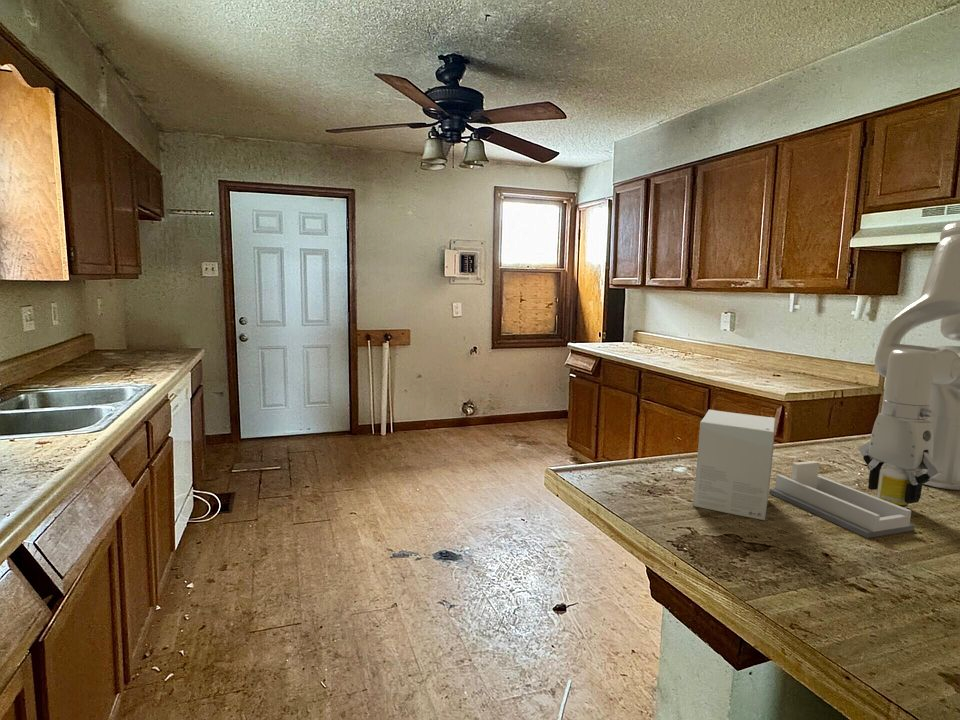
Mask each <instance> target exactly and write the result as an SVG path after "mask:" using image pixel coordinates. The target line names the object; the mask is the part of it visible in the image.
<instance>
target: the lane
mask: <svg viewBox="0 0 960 720" xmlns="http://www.w3.org/2000/svg"><path fill="white" fill-rule="evenodd" d="M769 494H770V495H772V496H774V497H776V498H778V499H781V500H782V501H784V502H787V503H790V504H791V505H794V506H795V507H798V508H800V509H802V510H805V511H807V512H809V513H811V514H814V515H816V516H817V517H820V518H822V519H824V520H827V521H828V522H830V523H833V524H836V525H837V526H840V527H842V528H844V529H846V530H847V531H850V532H852V533H854V534H857V535H859V536H861V537H864V538H866V539H869V538H876V537H882V536H889V535H895V534H900V533H905V532H913V531H915V526H916V525H915V524H913V523H911V516H912V510H910V509H908V508H907V509H906V508H903V507H901V506H898V505H895V504H893V503H890V502H888V501H885V500H882V499H880V498H877V497H876V496H874V495H871V494H869V493H866V492H863V491H861V490H858V489H856V488H853V487H851V486H848V485H845V484H843V483H840V482H837V481H835V480H833V479H830V478H828V477H825V476H822V475H819V474H818V479H817V487H816V489H815V488H812V487H810V486H807V485H805V484H802V483H800V482H797V481H795V480H793V479H791V477H787V476H785V475H783V474H776V477H775V486H774V488H769V493H768V495H769Z"/></svg>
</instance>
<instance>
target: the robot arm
mask: <svg viewBox="0 0 960 720" xmlns="http://www.w3.org/2000/svg"><path fill="white" fill-rule="evenodd" d="M937 320H941V322H940V332H941V335H942V336H943V337H944V338H945V339H948V340H952V341H956V342H960V220H957V221H952V222H950V223H948V224H946V225H944V226H943V228H942V229H941V233H940V236H939V243H937V245H936V247H935V250H934V253H933V255H932V258H931V262H930V266H929V269H928V271H927V274H926V278H925V281H924V284H923V287H922V289H921V293H920V296H919V297H918V299H916V300H915V301H914V302H913V303H910V304H909V305H908V306H906V307H905V308H903V309H902V310H900V311H899V312H898V313H897V314H896V315H894V317H893V318H892V319H890V321H889V322H888V323H887V324H886V326H885V328H883V331H882V334H881V338H880V340H879V344H878V346H877V349H876V352H875V357H874V368H875V371H876V372H877V374H878V375H879V376H881V377H884V378H885V383H884V390H883V395H882V396H883V398H882V406H881V412H878V414H877V416H876V419H875V421H874V424H873V426H872V427H873V428H872V430H871V431H872V432H871V436H870V440H869V441H868V442H866V443H863V445H861V446H858V450H859V453H860V454H861V456H862V458H863V461H864V462H865V464H866V465H867V466H866V468H867V470H868V471H869V475H868V490H871V491H875V490H877V488H878V481H879V474H880V469H881V468H883V467H885V466H886V465H885V463H889V464H892V465H894V466H897V467H899V468H902V469H906V470H907V473H908V476H909V479H910V482H911V483H908V484H907V487H906V494H905V502H906V503H908V505H909V504H915V503H919V501H920V499H921V496H922V489H923V485H926V486H929V487H935V488H939V489H946V490H953V491H954V490H957V491H960V345H959V346H958V345H939V346H935V347H931V346H922V345H916V344H915V345H914V344H913V345H912V344H904V343H902V344H901V341H902V340H903V338H905V336H906V335H907V334H908V333H909V332H910V331H912V330H913V329H916V328H918V327H920V326H922V325H924V324H927V323H930V322H931V323H932V322H934V321H937Z"/></svg>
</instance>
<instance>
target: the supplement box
mask: <svg viewBox="0 0 960 720" xmlns="http://www.w3.org/2000/svg"><path fill="white" fill-rule="evenodd" d="M775 425H776V418H775V417H772V416H771V417H769V416H762V415H761V416H760V415H753V414H746V413H740V412H739V413H736V412H730V411H724V410H723V411H722V410H715V409H708V410H707V412H706V413H705V415H704V417H703V418H702V419H701V420H700V422H699V432H698V433H699V434H698V435H699V436H698V446H697V447H698V448H697V457H696V458H697V459H696V467H695V468H696V469H695V479H694V480H695V482H694V490H693V491H694V492H693V502H692V506H693V507H695V508H696V507H697V508H701V509H705V510H710V511H711V510H712V511H716V512H720V513H726V514H731V515H735V516H741V517H745V518H751V519H755V520H761V521H765V520H766V516H767V507H768V500H769V490H770V487H771V486H770V483H771V476H772V468H773V458H774V457H773V456H774V446H775V445H774V444H775Z"/></svg>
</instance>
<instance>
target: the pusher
mask: <svg viewBox="0 0 960 720" xmlns="http://www.w3.org/2000/svg"><path fill="white" fill-rule="evenodd" d="M819 468H820V462H819V461H816V460H808V461H800V462H799V461H798V462H792V467H791V477H790V479H793V480H795V481H797V482H800V483H802V484H805V485H807V486H810V487H812V488H815V489H816V487H817V479H818V475H819Z"/></svg>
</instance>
